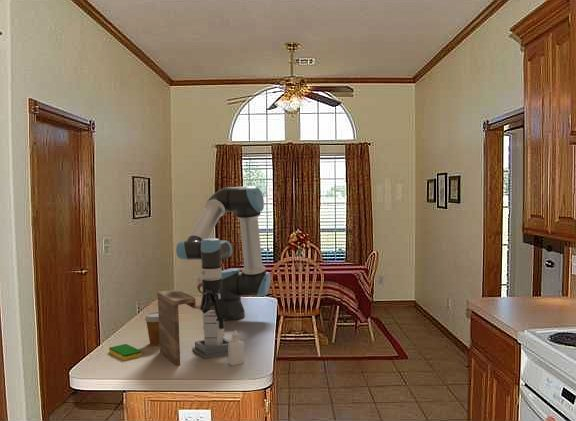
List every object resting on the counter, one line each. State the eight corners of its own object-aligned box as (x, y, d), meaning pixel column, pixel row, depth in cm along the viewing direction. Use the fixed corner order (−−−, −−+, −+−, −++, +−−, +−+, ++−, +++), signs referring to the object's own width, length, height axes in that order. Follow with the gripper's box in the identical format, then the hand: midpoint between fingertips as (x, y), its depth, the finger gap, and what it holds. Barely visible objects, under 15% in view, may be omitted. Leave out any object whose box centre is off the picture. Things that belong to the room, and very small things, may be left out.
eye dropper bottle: (228, 361, 194) (227, 329, 193) (244, 360, 194) (243, 328, 194) (228, 365, 189) (227, 332, 189) (244, 364, 190) (243, 331, 189)
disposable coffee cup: (173, 340, 223) (172, 312, 222) (161, 347, 214) (160, 317, 213) (154, 339, 226) (153, 311, 225) (141, 345, 217) (140, 316, 216)
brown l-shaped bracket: (179, 348, 212) (177, 289, 211) (197, 361, 195) (195, 298, 194) (159, 351, 208) (157, 292, 207) (176, 365, 191) (174, 300, 190)
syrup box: (219, 351, 204) (217, 313, 203) (204, 350, 205) (203, 313, 204) (223, 346, 209) (222, 310, 208) (209, 346, 210) (208, 309, 210)
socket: (222, 344, 216) (222, 335, 215) (236, 352, 204) (236, 343, 204) (192, 349, 209) (192, 341, 209) (204, 358, 198) (204, 349, 198)
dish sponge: (126, 349, 214) (125, 343, 213) (142, 357, 203) (141, 350, 203) (109, 353, 209) (108, 347, 209) (124, 361, 198) (124, 355, 198)
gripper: (191, 275, 214) (192, 327, 215) (215, 284, 193) (217, 342, 194) (208, 273, 218) (210, 324, 219) (234, 282, 197) (236, 338, 198)
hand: (213, 332), depth 206 cm, fingers open, 13 cm apart
